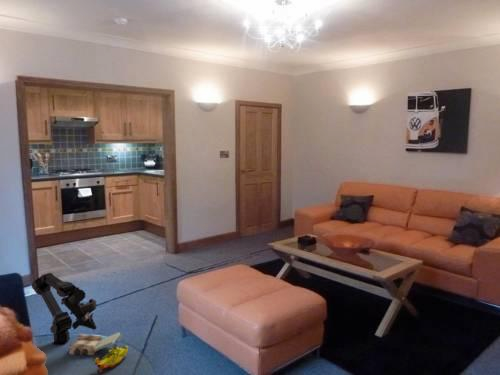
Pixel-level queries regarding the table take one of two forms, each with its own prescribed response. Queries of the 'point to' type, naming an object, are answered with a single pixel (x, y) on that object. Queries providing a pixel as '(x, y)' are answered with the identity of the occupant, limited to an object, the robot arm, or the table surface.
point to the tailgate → (108, 341)
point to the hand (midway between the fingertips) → (95, 328)
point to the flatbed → (85, 344)
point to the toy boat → (112, 357)
